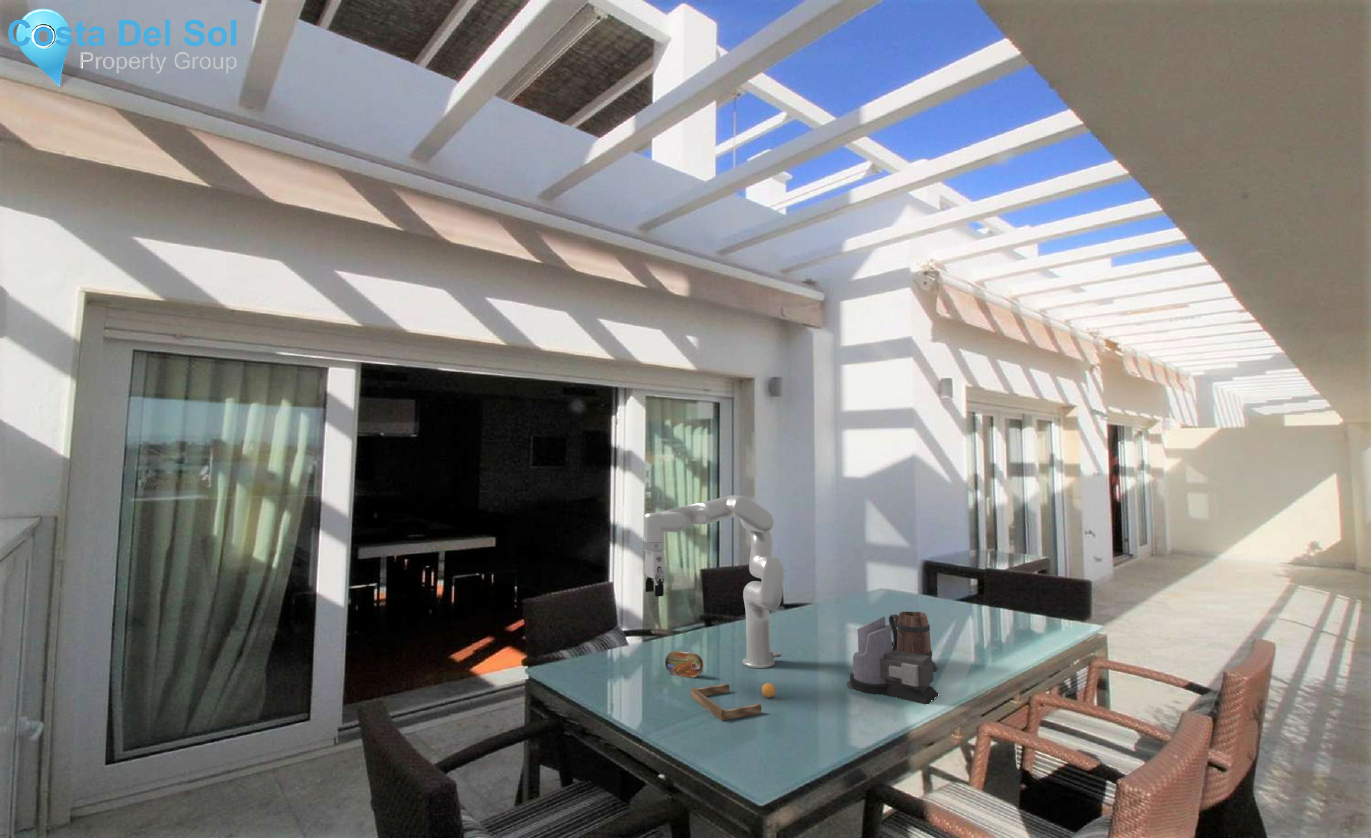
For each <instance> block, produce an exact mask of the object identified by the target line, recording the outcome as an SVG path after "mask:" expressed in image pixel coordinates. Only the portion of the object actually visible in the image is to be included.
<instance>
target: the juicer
mask: <svg viewBox="0 0 1371 838" xmlns="http://www.w3.org/2000/svg"><path fill="white" fill-rule="evenodd" d="M892 642H893V638H892V630H891V626H890V624H888V625H886V617H885V615H884V616H882V617H880V618H878V619H876V620H873V621H872V622H869V623H867V624H865V625H863V626H860V627H859V628H858V629H857V643H858V644H857V647H858V650H857V652H855V653H854V654H853V656H852V660H853V664H852V665H853V666H852V667H853V672H852V673H850V675H849V680H848V681H847V682H846V683H847V686H846V687H847V688H848V689H851V690H855V691H857V692H859V691H860V693H864V694H869V695H876V694H879V695H880V696H881V694H884V695H883V696H886V695H887V697H891V698H895V697H897V698H896V699H899V698H900V699H901V700H906V701H908V700H909V702H915V703H918V704H923V705H926V704H929V703H930V702H931V700H933V701H935V699H934V698H935V697H937V696H938V694H939V692H938V691H936V689H935V688H934V687H933V686H932V685H931V684H932V683H933V682H934V673H933V662H934V661H933V659H932V660H930V656H927V655H921V654H915V653H910V652H904V651H898V650H893V649H892ZM879 695H878V696H879ZM938 697H939V696H938ZM938 697H937V698H938ZM931 703H932V702H931ZM931 703H930V704H931ZM930 704H929V705H930Z"/></svg>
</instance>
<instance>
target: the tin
mask: <svg viewBox="0 0 1371 838" xmlns="http://www.w3.org/2000/svg"><path fill="white" fill-rule="evenodd" d="M664 661H665V662H664V663H665V665H664V666H665V669H666V670H667V672H668V673H669V674H670V675H673V676H676V675H677V676H676V677H685V678H690V679H692V678H693V679H694V678H697V677H698V676H700V674H702V672H703V671H704V670H703V669H704V662H703V659H702V658H701V656H700V655H699V654H697V653H695V652H694V653H693V652H686V651H680V650H679V651H678V650H675V651H670V653H668V654H667V655H666V656H665V660H664Z"/></svg>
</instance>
